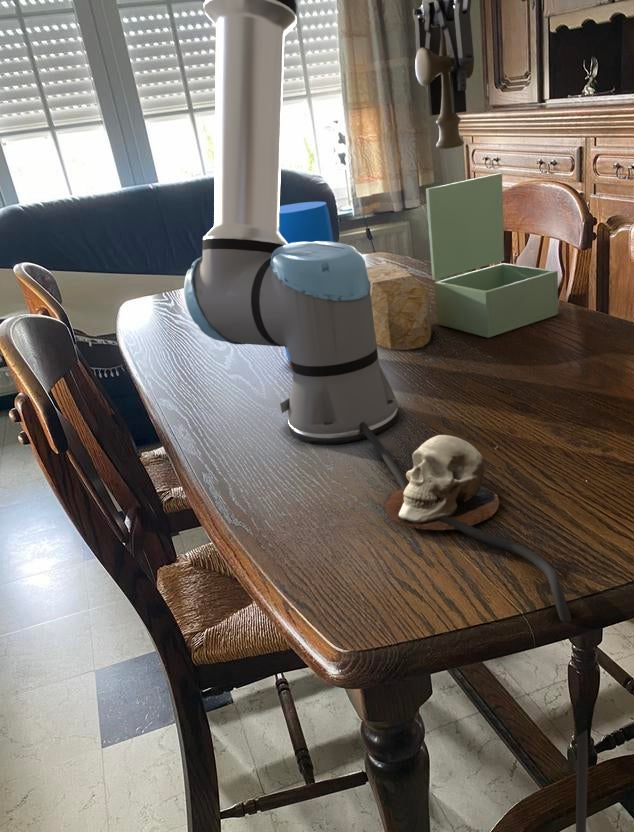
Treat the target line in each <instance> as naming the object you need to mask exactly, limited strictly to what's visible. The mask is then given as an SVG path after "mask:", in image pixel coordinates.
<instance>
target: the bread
mask: <svg viewBox="0 0 634 832" xmlns="http://www.w3.org/2000/svg"><path fill="white" fill-rule="evenodd" d="M366 270H367V275H368V278H369V281H370V285H371V290H370V295H371V303H372V311H373V319H374V327H375V335H376V344H377V346H381V347H384V348H386V349H389V350H396V351H397V350H400V351H401V350H402V351H409V350H413V349H418V348H423V347H424V346H426V345H427V344H428V343H429V342H430V340H431V336H432V322H431V311H430V299H429V291H428V289H426V288H425V286H424V285H423V284H422V283H421V282H420V280H418V279H417V278H416V277H415V276H414V275H413V274H410V273H409V272H407V271H406V270H404V269H402V268H400V267H398V266H396V265H395V264H393V263H391V262H389V263H382V264H378V265H377V264H376V265H371V266H366Z"/></svg>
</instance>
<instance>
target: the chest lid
mask: <svg viewBox="0 0 634 832" xmlns="http://www.w3.org/2000/svg"><path fill="white" fill-rule="evenodd" d="M425 195H426V197H425V198H426V212H427V222H428V225H427V226H428V238H429V251H430V265H431V278H432V280H433V281H437V280H440V279H445V278H448V277H452V276H456V275H458V274H463V273H465V272H469V271H472V270H473V271H474V270H475V269H479V268H480V269H481V268H484V267H487V266H491V265H493V264H494V265H495V264H497V263H498V264H499V263H502V262H504V261H505V240H504V239H505V237H504V200H503V199H504V198H503V195H504V193H503V172H502V173H494V174H489V175H485V176H480V177H476V178H475V177H474V178H471V179H466V180H461V181H457V182H452V183H447V184H443V185H442V184H441V185H437V186H432V187H428V188H425Z"/></svg>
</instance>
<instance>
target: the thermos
mask: <svg viewBox="0 0 634 832" xmlns="http://www.w3.org/2000/svg"><path fill="white" fill-rule="evenodd" d="M329 212H330V211H329V208H328V205H327V202H326V201H306V202H305V201H304V202H297V203H291V204H284V205H280V207H279V232H280V234H281V236H282V237H283V238H284V239H285V240H286V241H287V243H288V244H291V243H297V242H315V241H328V242H334V238H333V230H332V223H331V217H330V213H329ZM284 350H285V352H286V357H287V362H288V366H289V368H290V369H291V370H292V367H291V362H290V357H289V352H288V347H284Z"/></svg>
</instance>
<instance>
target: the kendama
mask: <svg viewBox="0 0 634 832" xmlns="http://www.w3.org/2000/svg"><path fill="white" fill-rule="evenodd" d="M440 53H441V54H440V55H439V56H438V55H436V54H434V53H433V52H432V51H430V50H429V49H427V48H424V47H421V48H420V49H419V50H418V52H417V54H416V53H415V54H416V55H415V61H414V63H415V65H414V68H415V76H416V78H417V82H418V83H419V84H420V85H421V86H422V87H427V85H428V84H430V83H431V82H432V81H433V80H434V79H435V78H436V77H437V76H438V75H439V74H441V82H442V97H441V111H440V114H439V116H438V117H437V120H436V121H435V123H436V124H437V126H438V129H439V136H438V141H437V142H436V144H435V147H436V148H437V149H440V150H451V149H452V150H453V149H457V148H460V147H462V146H463V145H464V144H465V141H464V140H463V139H462V137H461V136H460V131H459V127H460V126H459V125H460V123H461V121H462V118H461V116H459V115H458V113H453V114H452V102H451V86H450V72H452V71H450V69H449V68H451V67H452V63H451V59H450V55H449V54H448V46H447V42H446V38H445V34H444V30H443V29H441V42H440ZM465 56H467V55H465ZM458 61H459V60H458ZM474 68H475V61H474V62H473V64H470V65H469V66H467V69H466V80H468V79H470V78H471V77H472V75H473V72H474Z"/></svg>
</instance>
